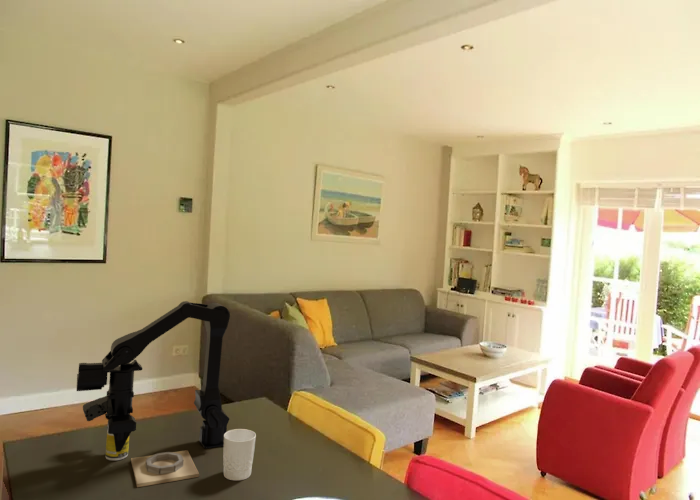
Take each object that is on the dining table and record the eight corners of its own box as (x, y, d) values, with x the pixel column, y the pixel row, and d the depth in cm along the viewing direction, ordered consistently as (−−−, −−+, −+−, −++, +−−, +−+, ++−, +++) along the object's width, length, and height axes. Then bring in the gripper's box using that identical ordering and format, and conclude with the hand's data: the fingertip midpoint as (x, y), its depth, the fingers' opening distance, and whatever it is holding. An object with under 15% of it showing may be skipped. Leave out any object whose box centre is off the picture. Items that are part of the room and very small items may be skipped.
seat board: (187, 453, 133) (187, 444, 133) (198, 476, 121) (199, 467, 121) (130, 461, 126) (131, 452, 126) (137, 487, 114) (137, 477, 114)
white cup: (237, 485, 118) (240, 444, 118) (214, 475, 122) (216, 435, 122) (259, 473, 125) (262, 434, 125) (237, 464, 129) (239, 426, 129)
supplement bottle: (119, 462, 125) (121, 424, 125) (100, 459, 126) (102, 421, 126) (132, 453, 130) (135, 417, 130) (114, 450, 132) (116, 414, 131)
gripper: (85, 379, 132) (81, 437, 132) (86, 402, 116) (83, 467, 116) (130, 376, 138) (127, 431, 138) (138, 397, 121) (134, 460, 122)
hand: (117, 446), depth 128 cm, fingers closed on supplement bottle, 5 cm apart
